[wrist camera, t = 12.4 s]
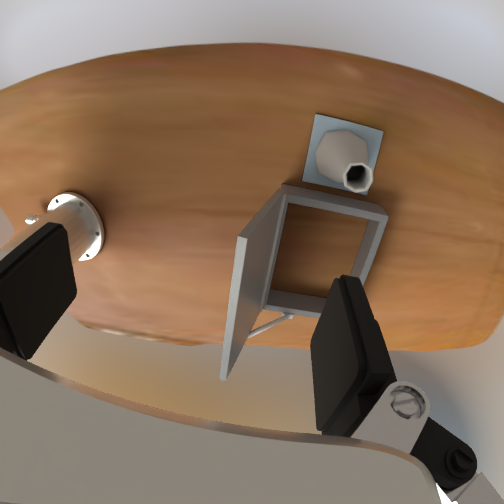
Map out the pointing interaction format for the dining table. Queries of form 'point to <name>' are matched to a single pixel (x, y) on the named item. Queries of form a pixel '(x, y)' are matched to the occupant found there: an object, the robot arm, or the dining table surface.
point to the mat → (333, 124)
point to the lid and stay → (250, 281)
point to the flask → (344, 160)
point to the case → (364, 259)
